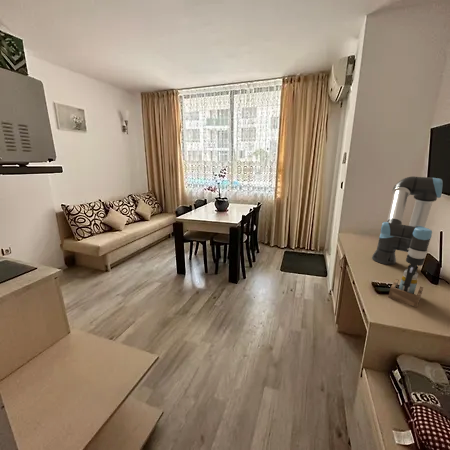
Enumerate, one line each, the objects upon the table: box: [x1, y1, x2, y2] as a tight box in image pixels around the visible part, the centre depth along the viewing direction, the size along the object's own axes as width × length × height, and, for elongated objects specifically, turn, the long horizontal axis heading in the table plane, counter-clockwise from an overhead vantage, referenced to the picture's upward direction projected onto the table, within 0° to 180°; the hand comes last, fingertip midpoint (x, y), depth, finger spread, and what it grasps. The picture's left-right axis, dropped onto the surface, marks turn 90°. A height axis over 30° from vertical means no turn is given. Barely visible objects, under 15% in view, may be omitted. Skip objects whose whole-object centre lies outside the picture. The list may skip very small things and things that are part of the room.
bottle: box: [398, 268, 419, 294], centre depth 135 cm, size 7×7×15 cm
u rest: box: [388, 278, 424, 308], centre depth 135 cm, size 14×13×6 cm
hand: (406, 292), depth 137 cm, fingers open, 11 cm apart
